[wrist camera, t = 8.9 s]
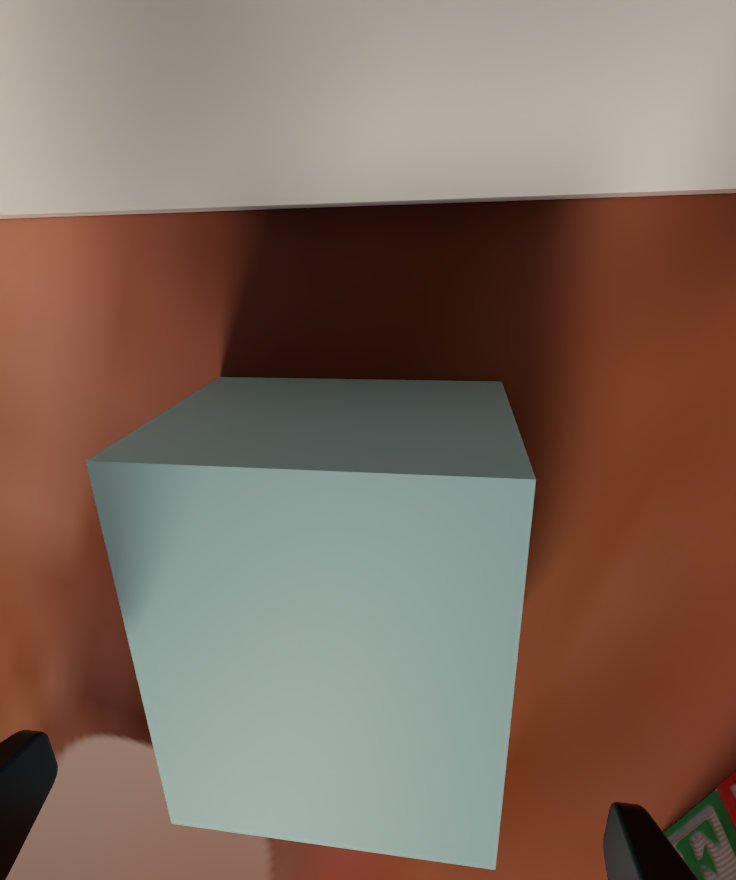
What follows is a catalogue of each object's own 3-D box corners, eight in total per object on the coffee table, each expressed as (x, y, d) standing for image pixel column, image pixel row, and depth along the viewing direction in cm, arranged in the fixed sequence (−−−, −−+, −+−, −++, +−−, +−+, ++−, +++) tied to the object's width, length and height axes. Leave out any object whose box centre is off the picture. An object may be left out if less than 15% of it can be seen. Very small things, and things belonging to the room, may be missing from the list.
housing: (254, 647, 17) (171, 823, 12) (219, 376, 14) (85, 461, 9) (480, 668, 16) (495, 869, 11) (501, 381, 13) (536, 479, 8)
